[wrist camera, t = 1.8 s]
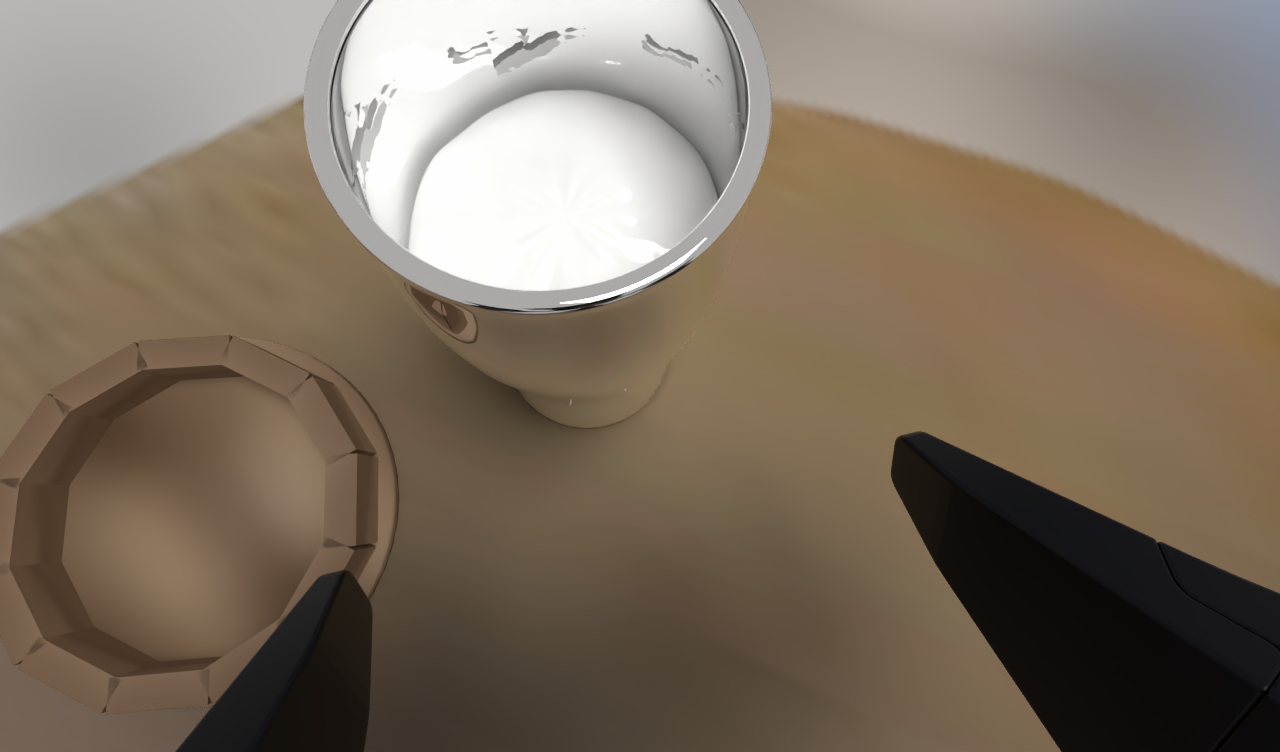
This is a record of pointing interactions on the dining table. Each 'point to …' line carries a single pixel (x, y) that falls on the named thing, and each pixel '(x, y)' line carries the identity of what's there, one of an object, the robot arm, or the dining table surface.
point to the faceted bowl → (183, 516)
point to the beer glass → (545, 177)
